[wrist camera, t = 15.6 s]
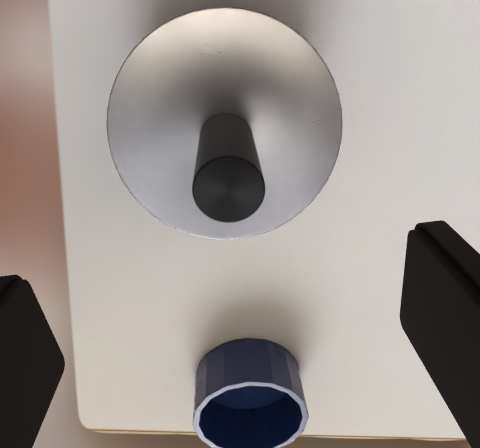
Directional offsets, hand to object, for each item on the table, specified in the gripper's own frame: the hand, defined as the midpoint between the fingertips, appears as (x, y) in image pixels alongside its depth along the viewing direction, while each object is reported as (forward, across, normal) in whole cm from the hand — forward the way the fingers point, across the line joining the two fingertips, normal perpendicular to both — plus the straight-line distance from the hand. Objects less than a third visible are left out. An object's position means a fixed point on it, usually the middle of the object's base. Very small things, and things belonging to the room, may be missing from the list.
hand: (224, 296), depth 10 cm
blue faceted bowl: (+23, +1, +30) cm, 37 cm away
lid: (+13, 0, 0) cm, 13 cm away
